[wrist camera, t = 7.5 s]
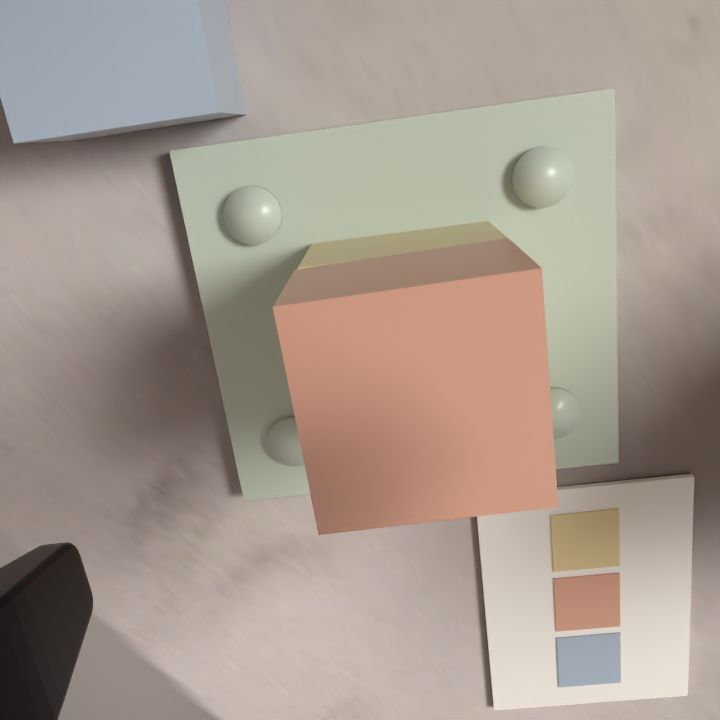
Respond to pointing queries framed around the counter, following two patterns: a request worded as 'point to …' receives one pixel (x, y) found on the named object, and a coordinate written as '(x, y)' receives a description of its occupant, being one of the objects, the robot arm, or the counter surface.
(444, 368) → the brick terracotta
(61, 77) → the brick slate
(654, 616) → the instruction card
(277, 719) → the counter surface
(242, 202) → the plate
